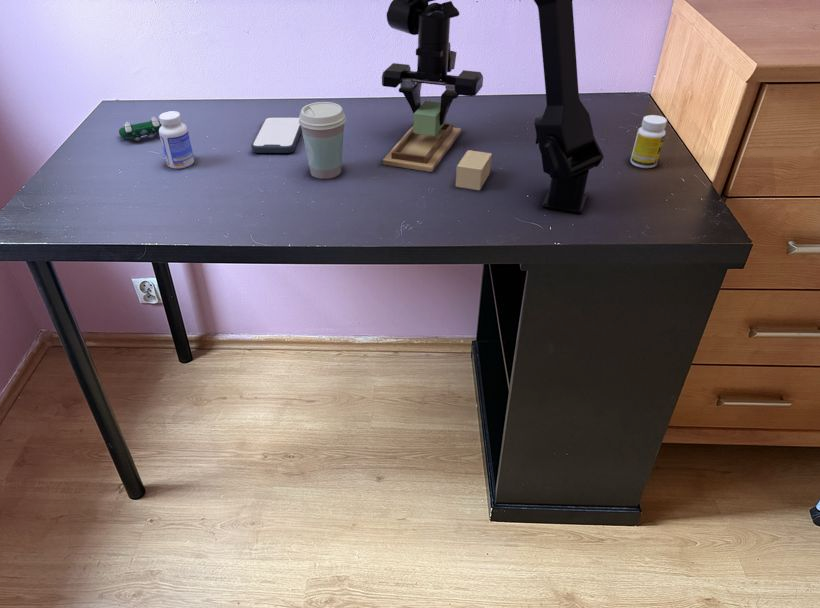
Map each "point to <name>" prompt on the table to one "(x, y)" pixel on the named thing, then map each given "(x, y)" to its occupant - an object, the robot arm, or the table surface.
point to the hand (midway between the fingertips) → (430, 123)
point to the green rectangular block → (428, 119)
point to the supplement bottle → (649, 142)
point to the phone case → (277, 135)
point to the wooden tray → (422, 149)
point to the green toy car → (140, 129)
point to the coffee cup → (323, 137)
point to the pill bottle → (175, 140)
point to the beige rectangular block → (473, 170)
